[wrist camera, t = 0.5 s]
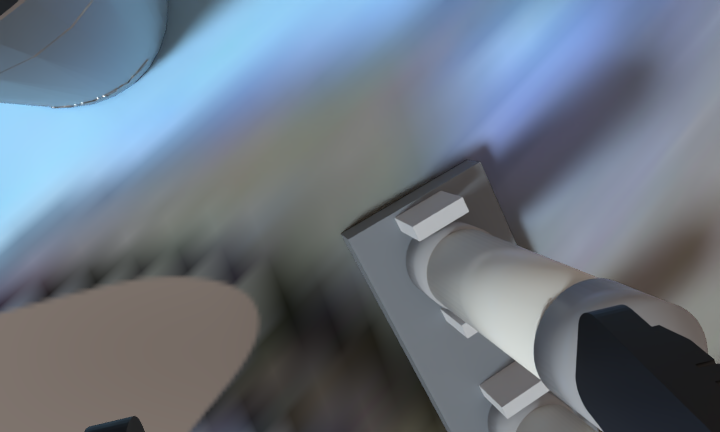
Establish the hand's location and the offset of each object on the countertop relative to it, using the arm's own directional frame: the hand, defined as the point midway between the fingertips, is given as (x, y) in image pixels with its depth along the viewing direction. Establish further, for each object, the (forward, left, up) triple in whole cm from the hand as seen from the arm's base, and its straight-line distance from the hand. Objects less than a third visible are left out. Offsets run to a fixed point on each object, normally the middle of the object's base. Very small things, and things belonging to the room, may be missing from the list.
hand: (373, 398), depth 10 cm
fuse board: (+17, +7, -19) cm, 26 cm away
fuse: (+6, +7, -17) cm, 19 cm away
